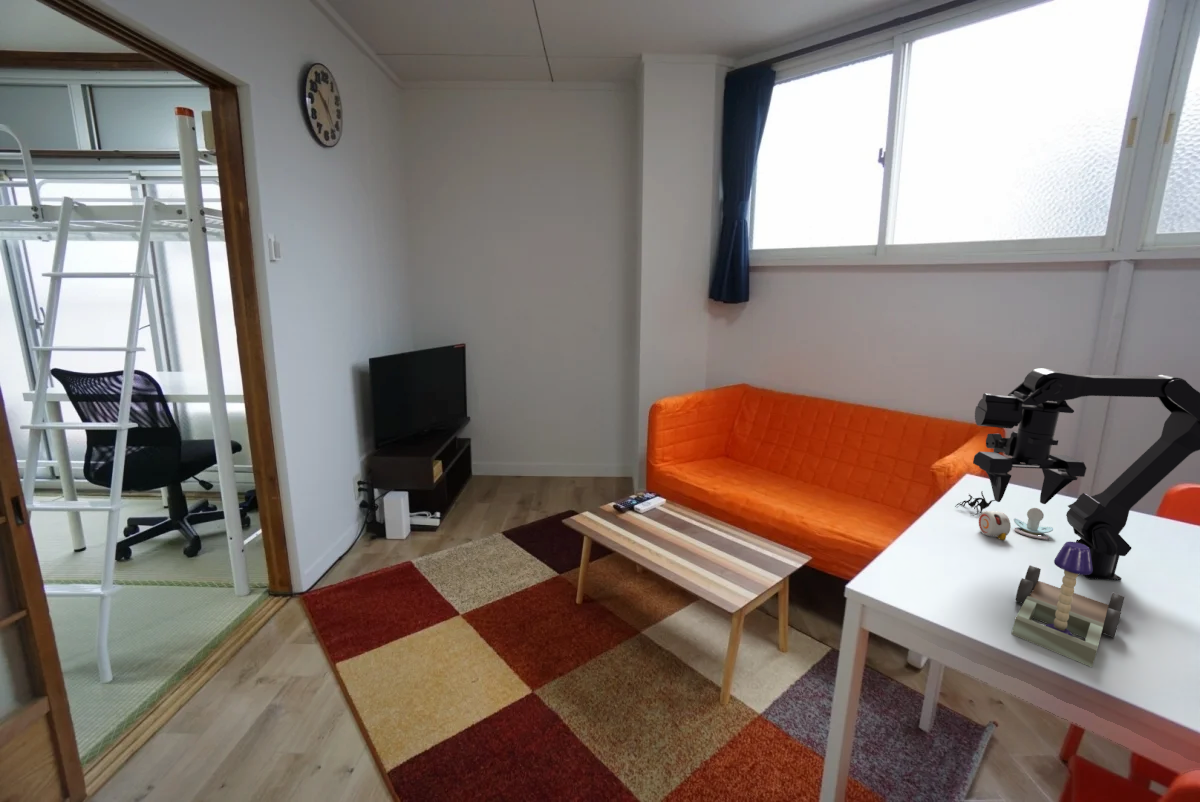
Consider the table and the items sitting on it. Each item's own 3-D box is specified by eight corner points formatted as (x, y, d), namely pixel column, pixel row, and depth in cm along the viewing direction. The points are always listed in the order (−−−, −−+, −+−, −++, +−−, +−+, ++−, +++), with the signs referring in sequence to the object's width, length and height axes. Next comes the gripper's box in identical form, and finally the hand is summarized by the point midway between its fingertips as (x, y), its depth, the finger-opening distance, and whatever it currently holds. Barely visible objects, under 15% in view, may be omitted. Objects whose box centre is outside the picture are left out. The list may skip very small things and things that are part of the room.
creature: (963, 520, 132) (998, 516, 130) (962, 500, 131) (997, 497, 129) (948, 507, 140) (981, 504, 138) (947, 489, 139) (980, 485, 137)
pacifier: (1050, 544, 119) (1051, 534, 123) (1056, 519, 117) (1057, 510, 121) (1010, 533, 123) (1012, 524, 128) (1015, 509, 122) (1017, 501, 126)
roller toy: (994, 529, 125) (999, 507, 123) (1011, 542, 118) (1017, 519, 117) (974, 528, 125) (979, 506, 124) (991, 541, 119) (996, 518, 118)
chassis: (1026, 582, 102) (1031, 562, 101) (1119, 614, 93) (1125, 592, 92) (999, 629, 88) (1005, 606, 87) (1106, 673, 78) (1113, 648, 77)
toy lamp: (1031, 630, 88) (1053, 541, 84) (1045, 623, 90) (1068, 536, 86) (1065, 648, 83) (1090, 555, 80) (1080, 640, 85) (1105, 549, 82)
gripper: (1052, 422, 112) (1036, 489, 116) (963, 419, 113) (950, 485, 117) (1097, 437, 101) (1078, 510, 105) (999, 433, 102) (983, 506, 106)
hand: (1019, 502), depth 108 cm, fingers open, 9 cm apart
